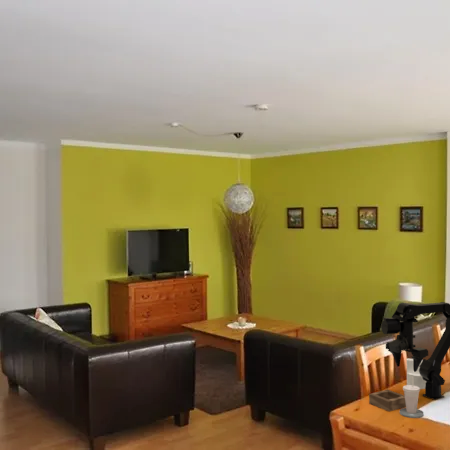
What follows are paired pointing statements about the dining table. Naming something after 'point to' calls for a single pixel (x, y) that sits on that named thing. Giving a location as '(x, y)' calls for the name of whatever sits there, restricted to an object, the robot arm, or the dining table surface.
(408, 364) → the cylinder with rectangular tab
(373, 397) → the holder
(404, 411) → the coaster
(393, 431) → the dining table surface
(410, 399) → the smoothie
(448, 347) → the robot arm
